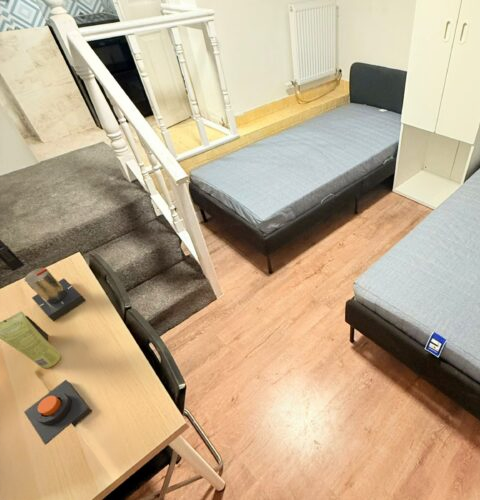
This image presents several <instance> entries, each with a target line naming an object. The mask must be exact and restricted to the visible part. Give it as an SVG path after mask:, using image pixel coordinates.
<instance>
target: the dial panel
mask: <svg viewBox="0 0 480 500" xmlns="http://www.w3.org/2000/svg"><path fill="white" fill-rule="evenodd" d="M58 282H59V283H60V284H61V285H62V286H63V287H64V289H65V290H66V291H67V294H66V296H65V297H64V298H63V299H62V300H60V301H59V302H56V303H53V304H48V303H46V302H45V301H44V300H43V299H42V298H41V297H40V296H39V295H38V294H37V293H36V294H35V295H34V296H32V297H31V299H32V300H33V301H34V302H35V304H36V305H37V306H38V308H40V309H41V310H42V312H43V313H44V314H45V315H46V316H47V317H48V318H49V320H51V321H52V322H56V321H57V320H59V319H60V318H62V317H63V316H65V315H66V314H68V313H69V312H71V311H73V310H74V309H75V308H77V307H78V306H80V305H81V304H83V303H84V302H86V298H84V296H83V295H82V294H81V293H80V292H79V291H78V290H77V289H76V288H75V287H74V286H73V285H72V284H71V283H70V282H68V281H67V279H65V278H61V279H60V280H58Z"/></svg>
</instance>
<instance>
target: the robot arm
mask: <svg viewBox="0 0 480 500" xmlns="http://www.w3.org/2000/svg"><path fill="white" fill-rule="evenodd" d="M0 260H1V261H2V262H3V263H4V264H5V265H6V266H7V267H8V268H9V269H10V270H11V271H12V272H15V271H17V270H19V269H21V268H22V267H24V266H25V263H24V262H23V261H22V260H20V258H19V257H18V256H17V255H16V254H15V253H14V252H13V251H12V250H11V249H10V248H9V246H8V245H7V244H5V243H4V242H3V241H2V240H1V239H0Z"/></svg>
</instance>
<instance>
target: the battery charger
mask: <svg viewBox="0 0 480 500" xmlns="http://www.w3.org/2000/svg"><path fill="white" fill-rule="evenodd" d="M25 316H26V318H27V319H28V320H29V322H30V323H31V324H32V325H33V326H34V328H35V329H36V330H37V331H38V332H39V333H40V334H41V335H42V336H43V337H44V338H45V339H46V341H47V342H48V343H49V334H48V333H47V332H46V331H45V330H43V329H42V328H41V327H40V326H39V325H38V324H37V323H36V322H35V321H34V320H33V319H31V318H30V317H29V316H28V315H25Z"/></svg>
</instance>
